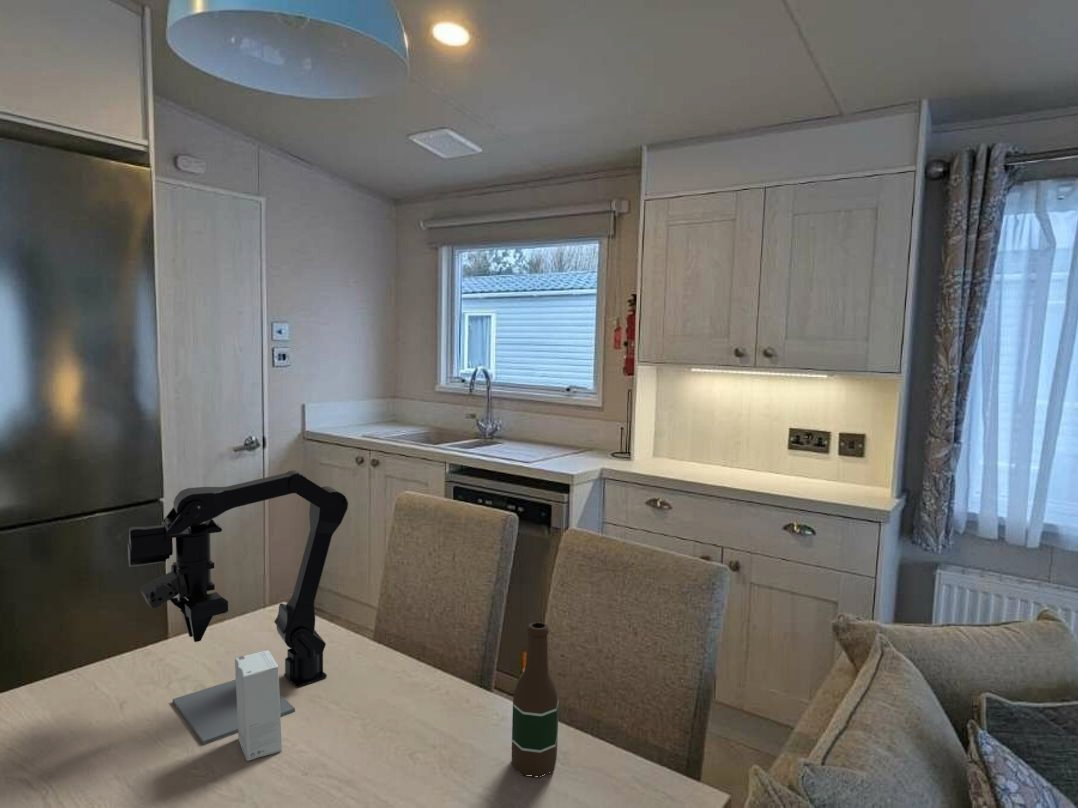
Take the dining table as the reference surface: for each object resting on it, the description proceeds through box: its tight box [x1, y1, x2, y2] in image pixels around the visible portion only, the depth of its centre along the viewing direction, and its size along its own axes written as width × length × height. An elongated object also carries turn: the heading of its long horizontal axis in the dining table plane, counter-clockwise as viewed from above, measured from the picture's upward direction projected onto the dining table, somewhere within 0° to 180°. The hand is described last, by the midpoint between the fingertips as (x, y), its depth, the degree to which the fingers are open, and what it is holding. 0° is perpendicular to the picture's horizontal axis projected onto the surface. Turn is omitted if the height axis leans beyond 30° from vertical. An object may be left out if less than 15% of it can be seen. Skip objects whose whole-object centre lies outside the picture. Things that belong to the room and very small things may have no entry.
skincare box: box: [234, 649, 283, 762], centre depth 114 cm, size 8×6×15 cm
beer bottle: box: [511, 621, 560, 778], centre depth 111 cm, size 8×8×24 cm
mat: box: [172, 678, 296, 745], centre depth 127 cm, size 16×18×1 cm
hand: (194, 638), depth 126 cm, fingers open, 3 cm apart
